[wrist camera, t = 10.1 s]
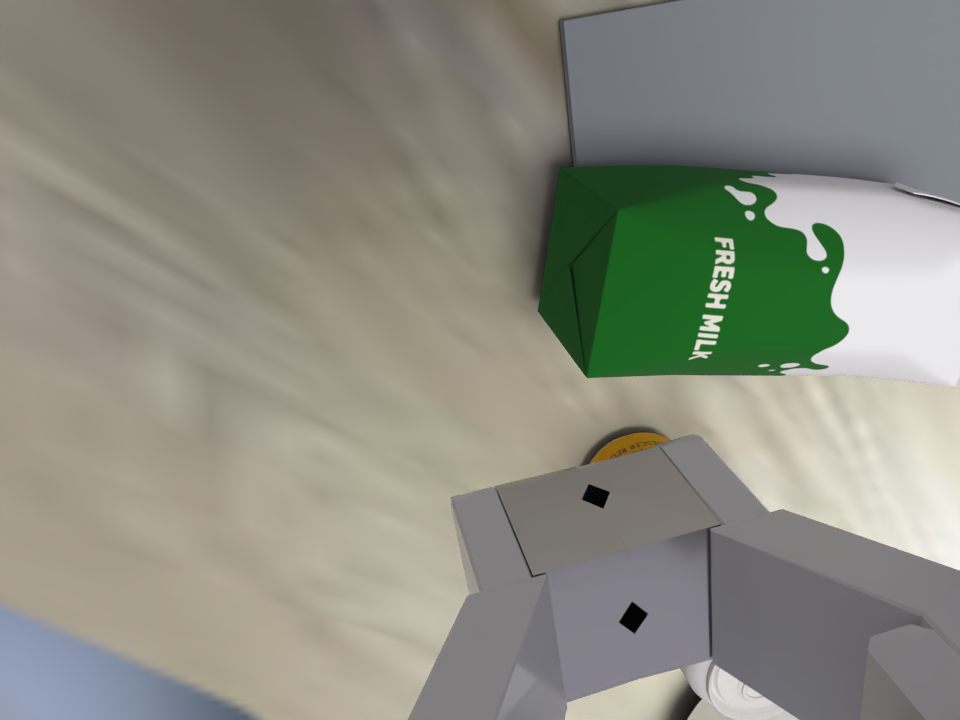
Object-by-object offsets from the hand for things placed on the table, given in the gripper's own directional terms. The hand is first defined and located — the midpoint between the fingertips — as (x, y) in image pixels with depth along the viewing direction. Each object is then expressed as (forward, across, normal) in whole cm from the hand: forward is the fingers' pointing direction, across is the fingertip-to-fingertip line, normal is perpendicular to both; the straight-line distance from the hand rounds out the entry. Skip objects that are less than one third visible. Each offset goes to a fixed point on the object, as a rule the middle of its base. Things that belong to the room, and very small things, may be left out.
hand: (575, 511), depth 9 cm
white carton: (+23, -7, +7) cm, 25 cm away
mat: (+28, -20, +6) cm, 35 cm away
